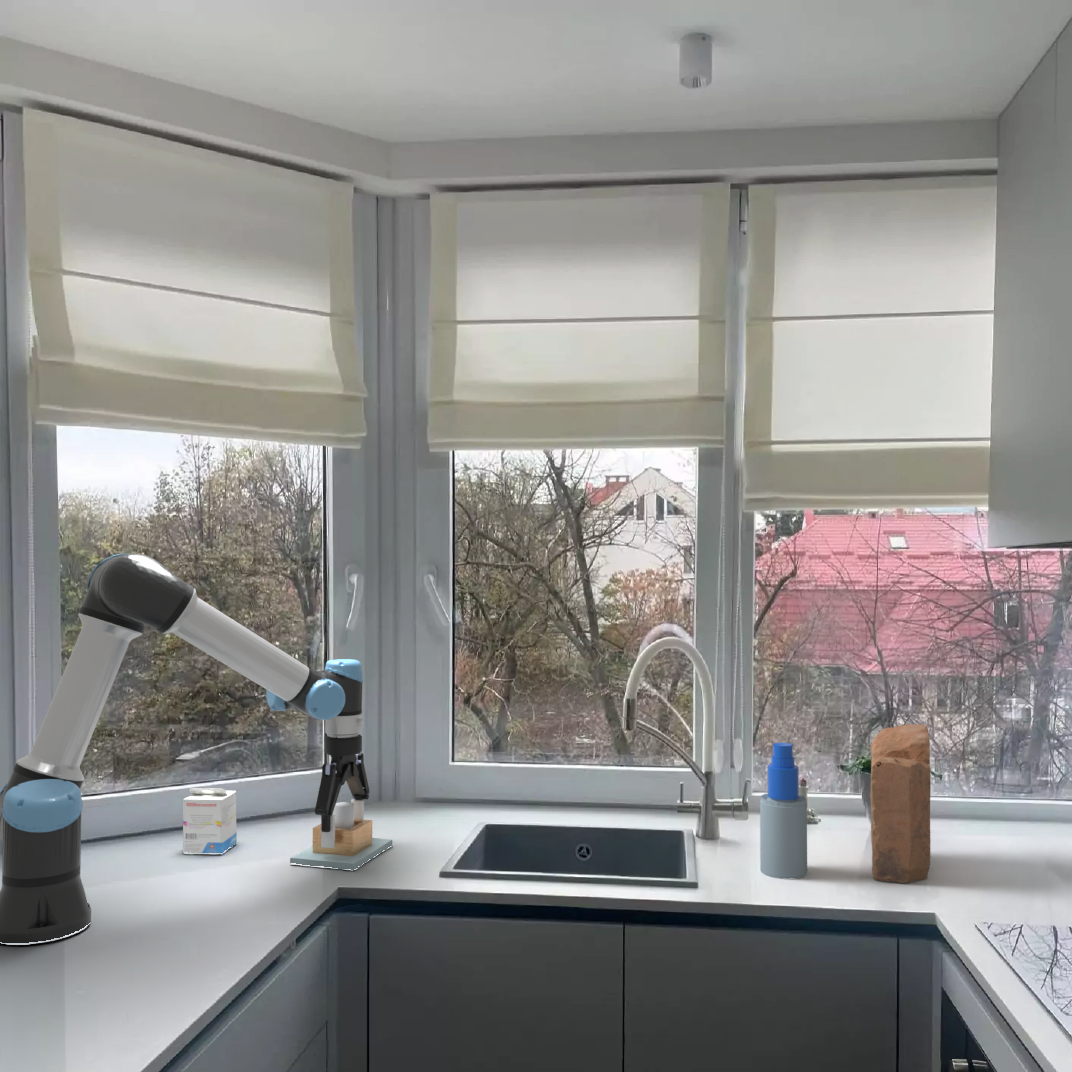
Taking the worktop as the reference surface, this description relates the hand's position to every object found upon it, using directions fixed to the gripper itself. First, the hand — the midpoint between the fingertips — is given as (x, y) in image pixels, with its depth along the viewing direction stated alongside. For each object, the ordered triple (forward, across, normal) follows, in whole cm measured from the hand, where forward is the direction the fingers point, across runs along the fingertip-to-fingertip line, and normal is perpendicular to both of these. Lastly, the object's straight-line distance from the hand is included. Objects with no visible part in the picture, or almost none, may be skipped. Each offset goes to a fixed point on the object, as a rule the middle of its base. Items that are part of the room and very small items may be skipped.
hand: (343, 839), depth 206 cm
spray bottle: (+4, +15, -88) cm, 89 cm away
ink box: (+4, -4, +29) cm, 30 cm away
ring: (+2, 0, 0) cm, 2 cm away
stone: (+4, +24, -110) cm, 113 cm away
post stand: (+3, 0, 0) cm, 3 cm away
